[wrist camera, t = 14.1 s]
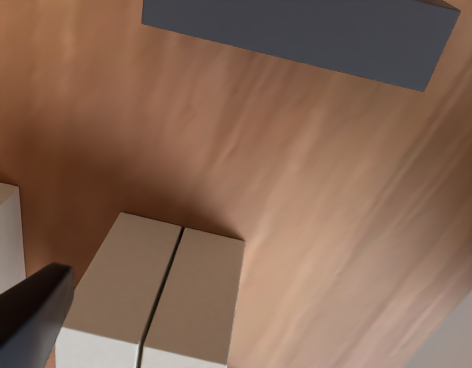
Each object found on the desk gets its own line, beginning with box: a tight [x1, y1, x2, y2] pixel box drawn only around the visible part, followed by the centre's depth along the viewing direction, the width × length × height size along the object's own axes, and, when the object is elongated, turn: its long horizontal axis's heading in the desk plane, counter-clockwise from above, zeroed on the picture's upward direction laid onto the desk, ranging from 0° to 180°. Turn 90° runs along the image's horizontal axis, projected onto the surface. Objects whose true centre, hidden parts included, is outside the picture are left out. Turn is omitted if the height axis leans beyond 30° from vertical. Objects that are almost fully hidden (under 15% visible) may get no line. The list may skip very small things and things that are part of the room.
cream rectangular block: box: [140, 228, 246, 368], centre depth 24 cm, size 4×9×8 cm, turn 168°
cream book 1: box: [55, 212, 181, 368], centre depth 23 cm, size 4×9×8 cm, turn 168°
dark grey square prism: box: [142, 0, 461, 92], centre depth 17 cm, size 11×3×2 cm, turn 78°
